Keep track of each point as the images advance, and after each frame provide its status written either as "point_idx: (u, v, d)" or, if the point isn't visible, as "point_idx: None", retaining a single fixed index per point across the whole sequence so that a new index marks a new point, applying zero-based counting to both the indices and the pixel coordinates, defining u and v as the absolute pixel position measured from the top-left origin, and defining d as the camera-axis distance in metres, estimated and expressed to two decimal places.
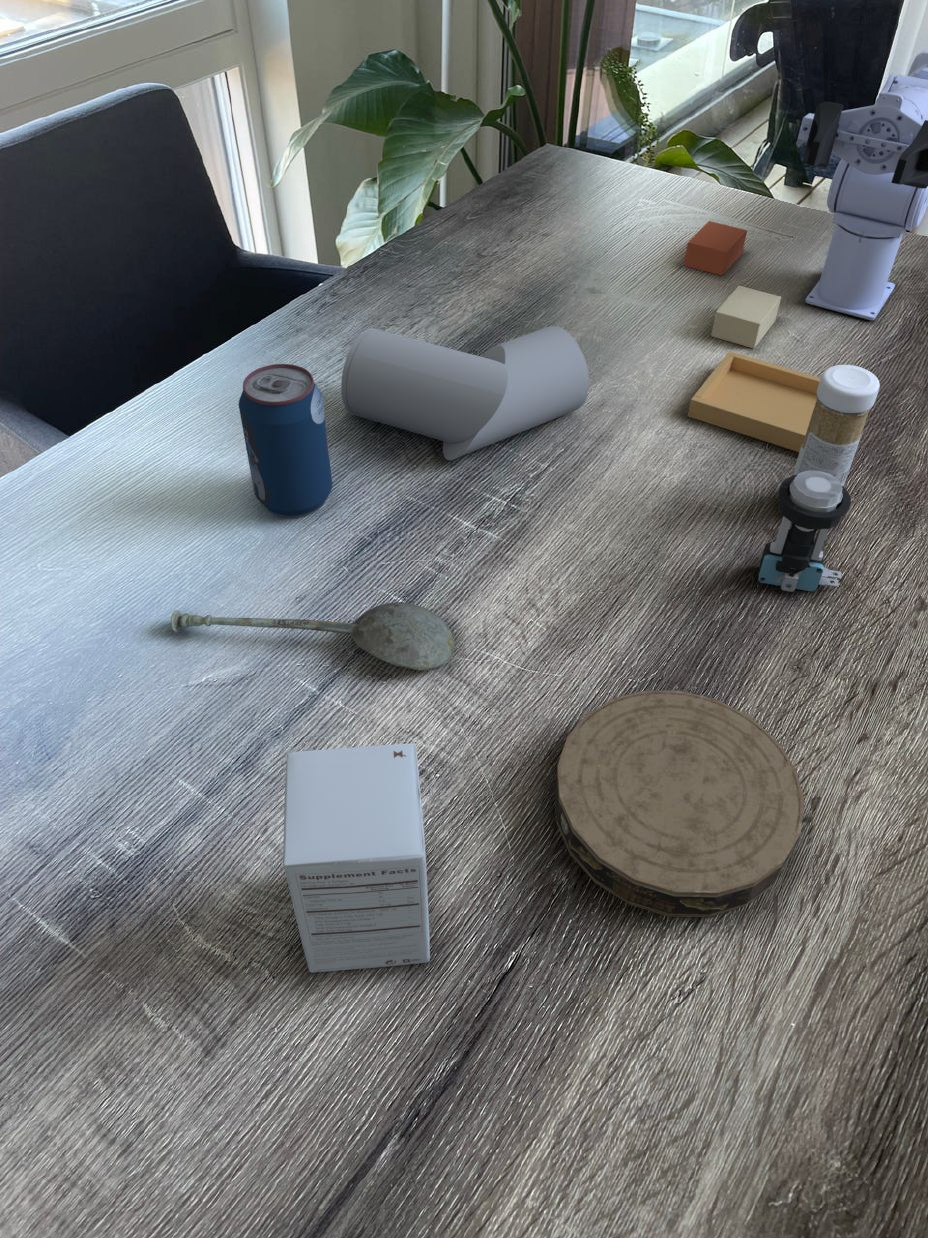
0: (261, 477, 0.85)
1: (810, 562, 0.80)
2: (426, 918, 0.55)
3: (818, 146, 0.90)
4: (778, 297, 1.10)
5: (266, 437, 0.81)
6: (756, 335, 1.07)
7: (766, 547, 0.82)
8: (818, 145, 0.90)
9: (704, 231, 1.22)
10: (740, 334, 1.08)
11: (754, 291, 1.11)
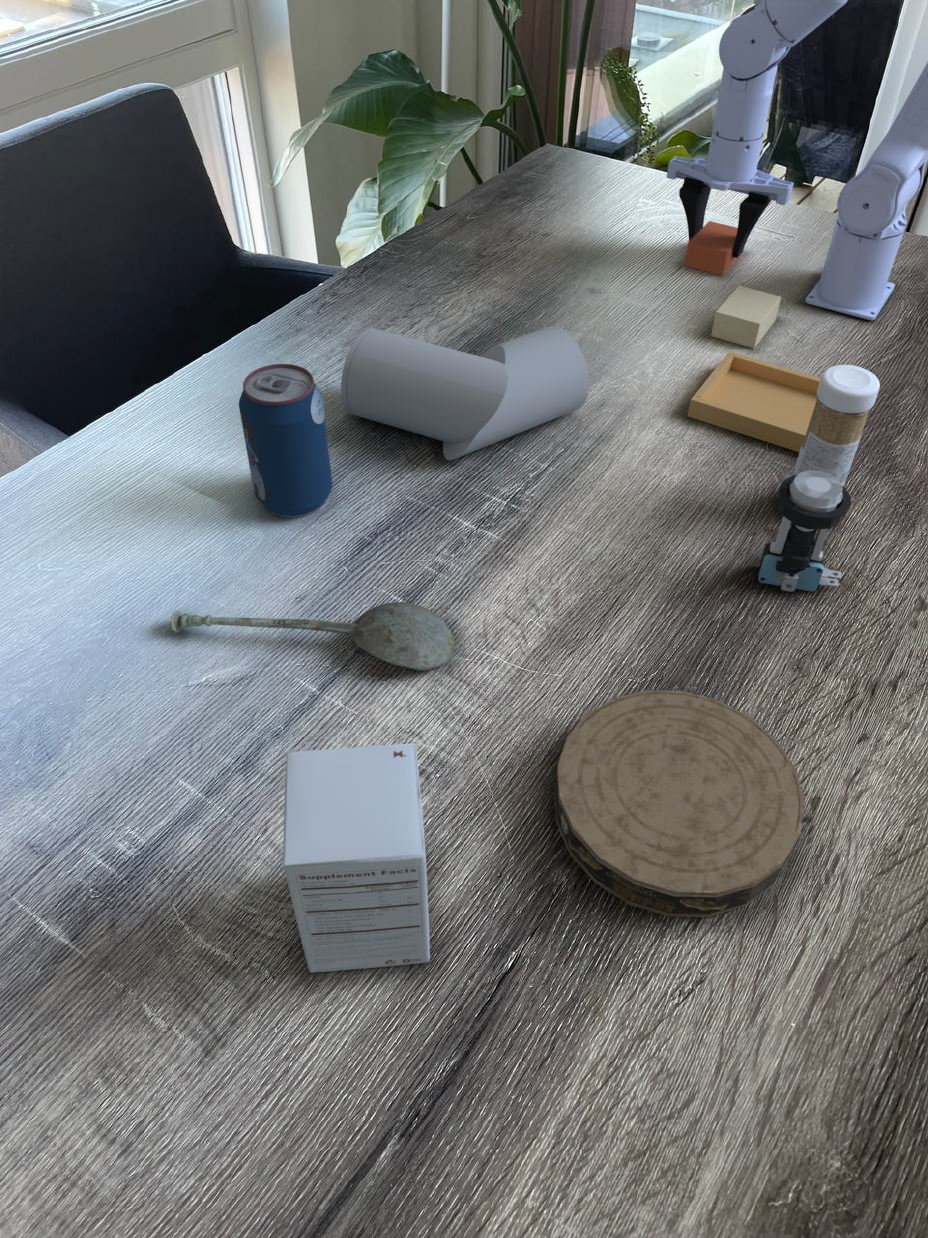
0: (261, 477, 0.85)
1: (810, 562, 0.80)
2: (426, 918, 0.55)
3: None
4: (778, 297, 1.10)
5: (267, 437, 0.81)
6: (756, 335, 1.07)
7: (766, 547, 0.82)
8: None
9: (704, 231, 1.22)
10: (740, 334, 1.08)
11: (754, 291, 1.11)
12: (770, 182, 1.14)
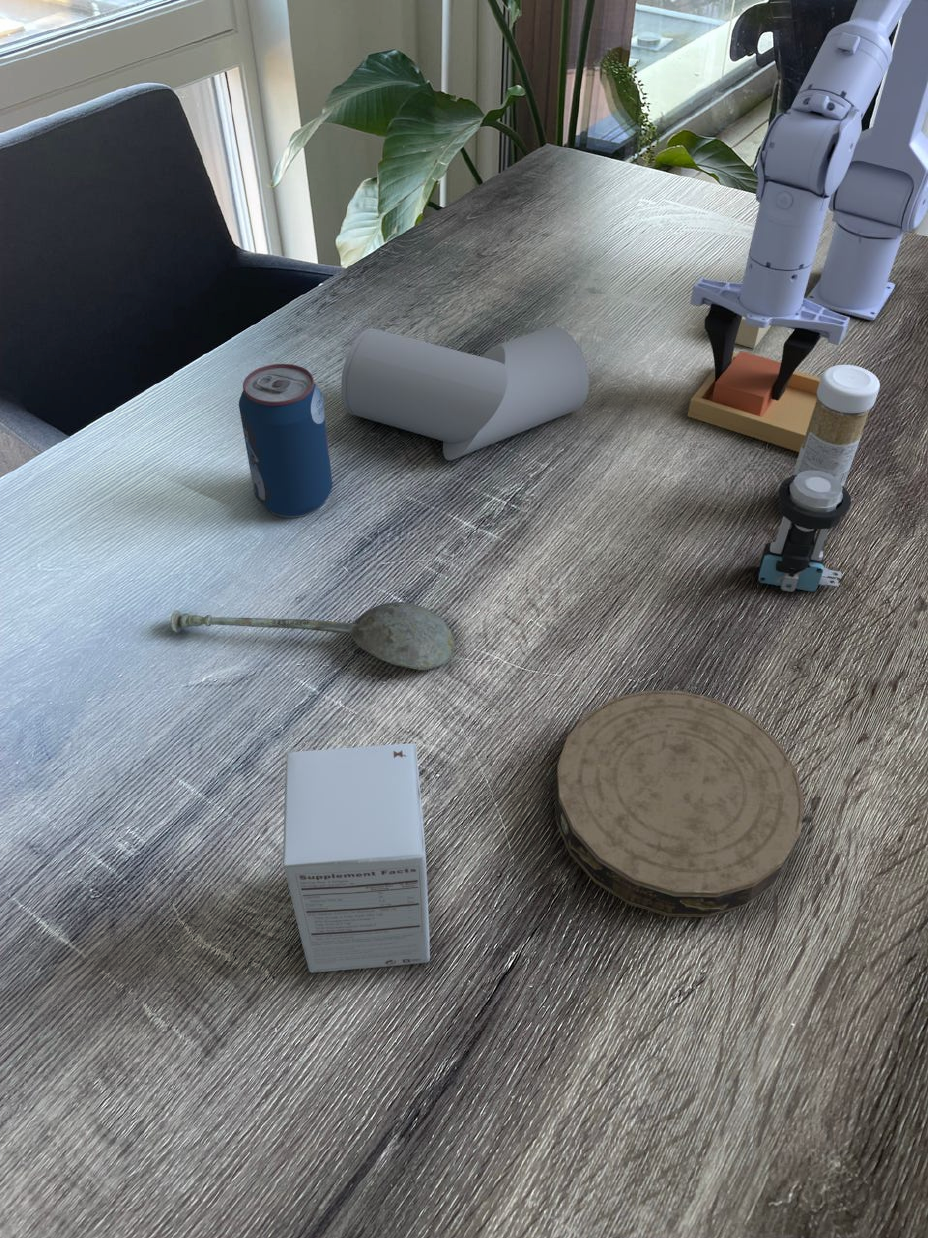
0: (261, 477, 0.85)
1: (810, 562, 0.80)
2: (426, 918, 0.55)
3: None
4: None
5: (267, 437, 0.81)
6: (756, 335, 1.07)
7: (766, 547, 0.82)
8: None
9: (735, 366, 0.99)
10: (740, 334, 1.08)
11: None
12: (821, 316, 0.91)
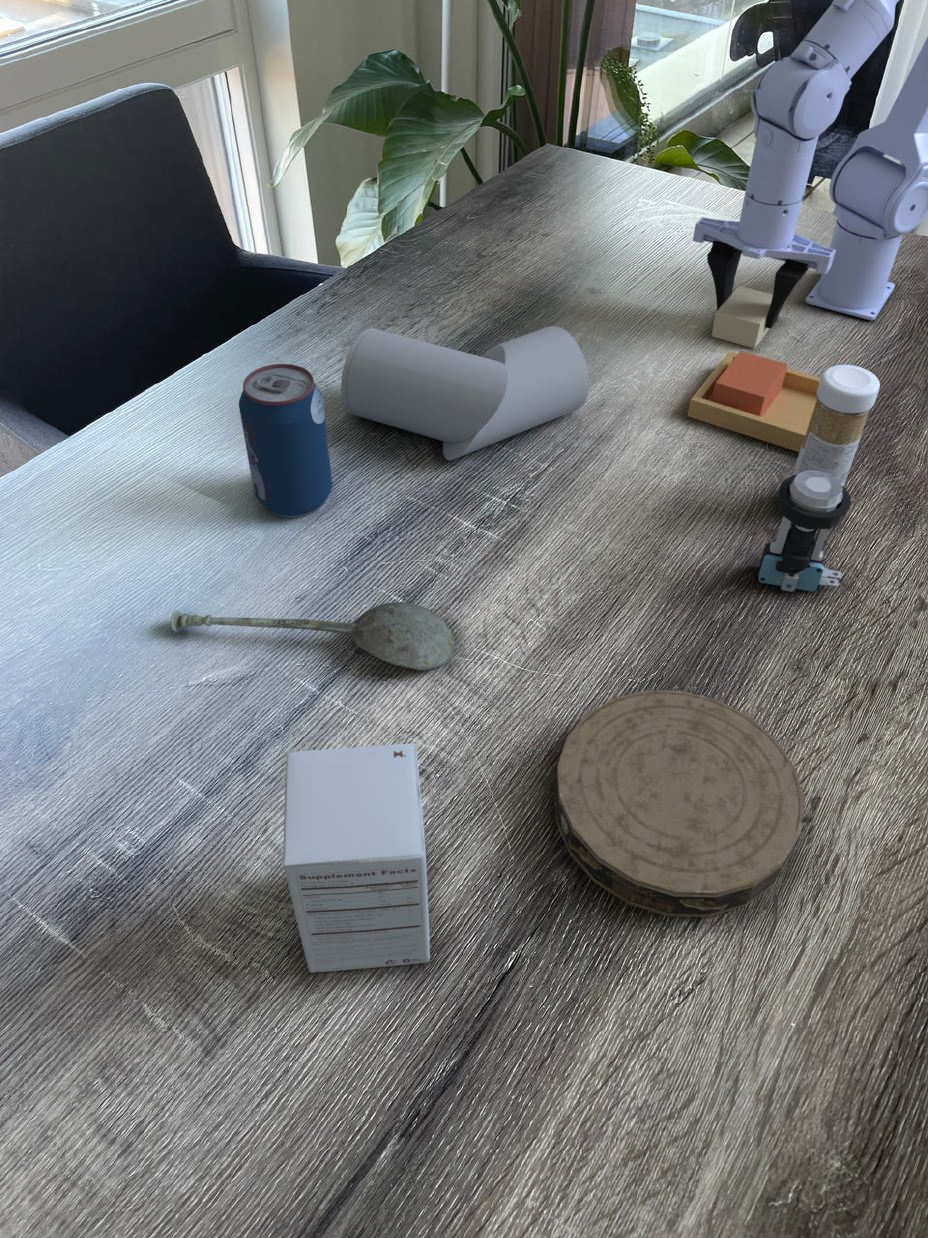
0: (261, 477, 0.85)
1: (810, 562, 0.80)
2: (426, 918, 0.55)
3: None
4: None
5: (267, 437, 0.81)
6: (756, 335, 1.07)
7: (766, 547, 0.82)
8: None
9: (735, 366, 0.99)
10: (741, 335, 1.08)
11: (754, 291, 1.11)
12: (809, 249, 1.02)
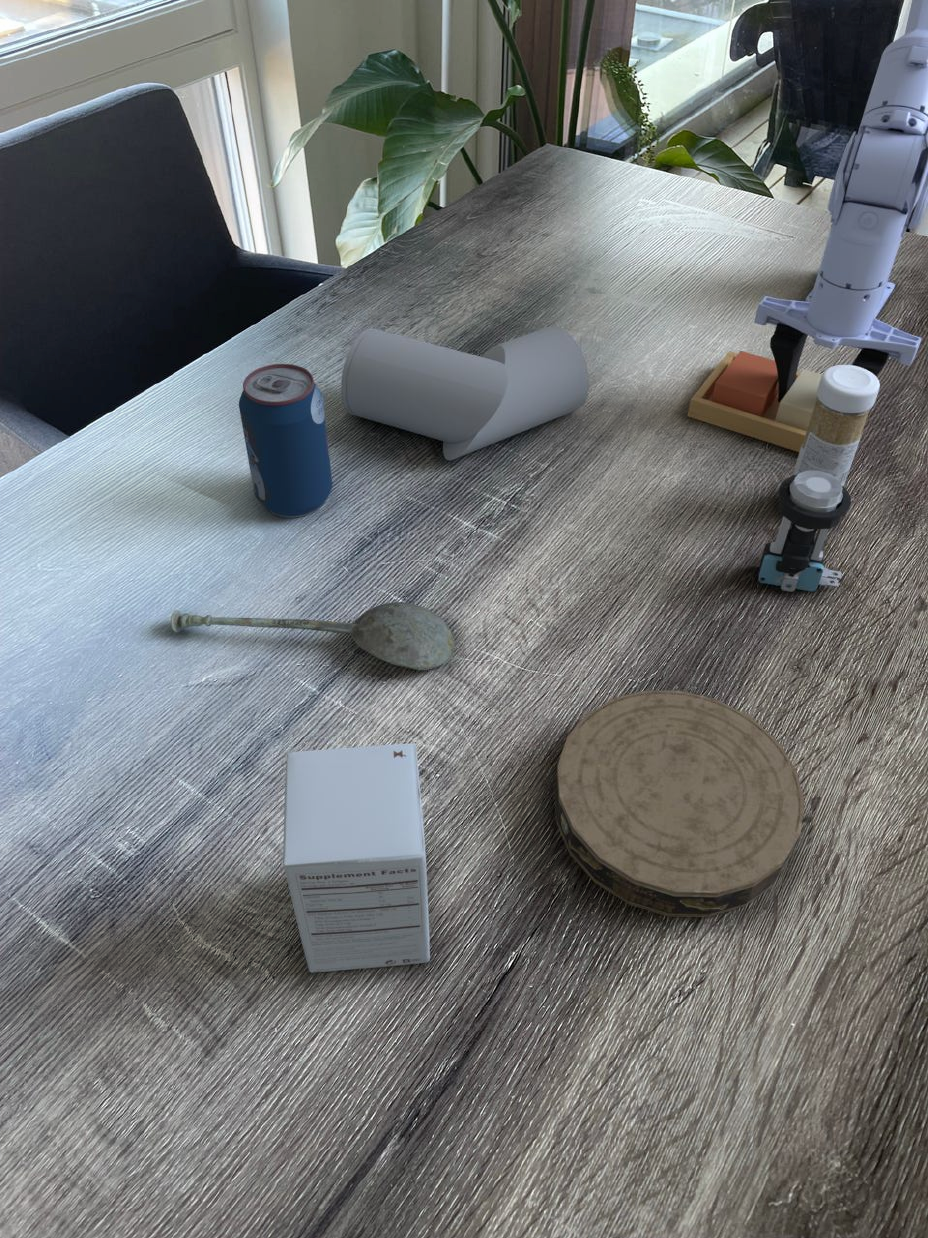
0: (261, 477, 0.85)
1: (810, 562, 0.80)
2: (426, 918, 0.55)
3: None
4: None
5: (267, 437, 0.81)
6: None
7: (766, 547, 0.82)
8: None
9: (735, 366, 0.99)
10: None
11: None
12: (891, 337, 0.89)
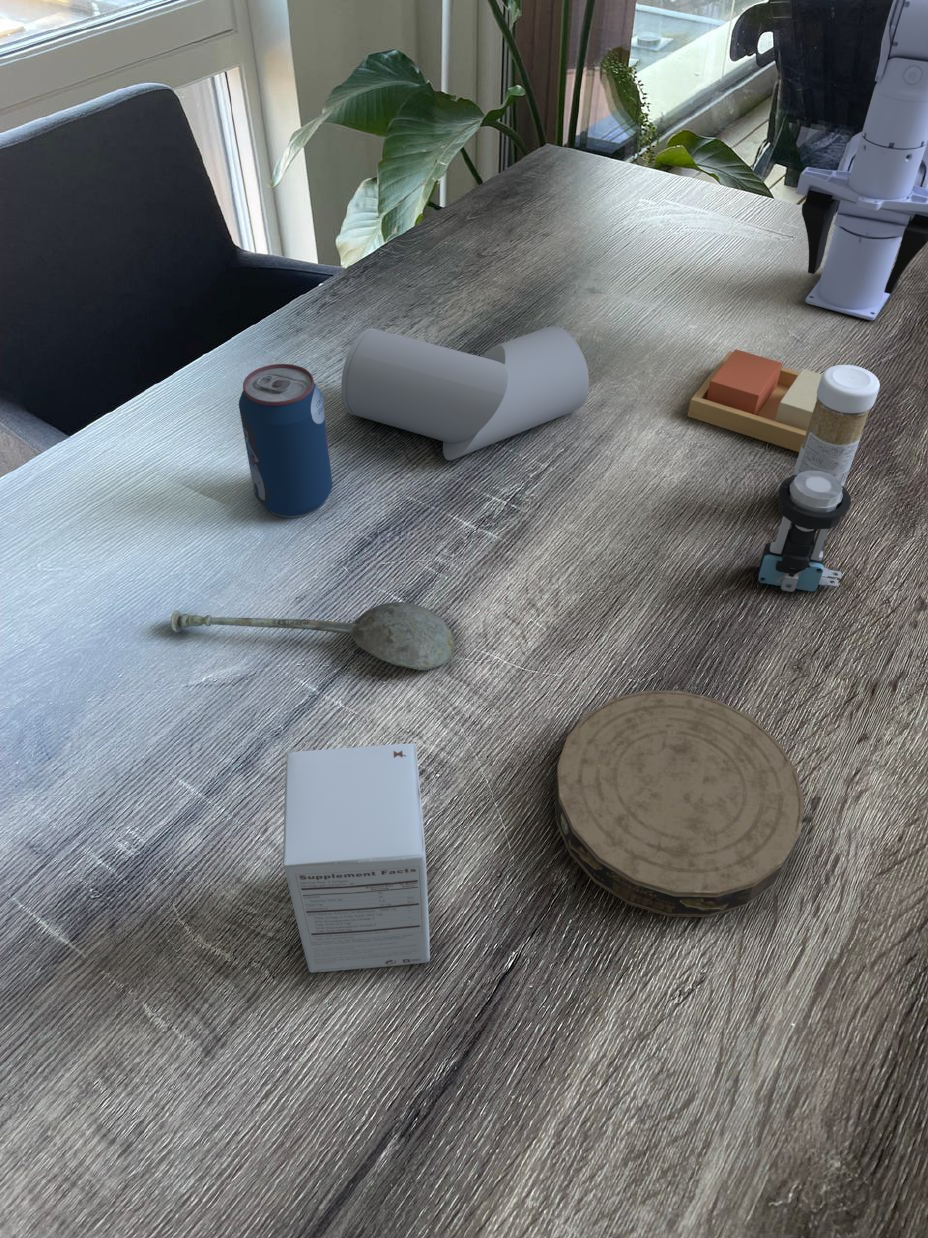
0: (261, 477, 0.85)
1: (810, 562, 0.80)
2: (426, 918, 0.55)
3: (814, 272, 1.01)
4: None
5: (267, 437, 0.81)
6: None
7: (766, 547, 0.82)
8: None
9: (730, 365, 0.99)
10: None
11: None
12: None
